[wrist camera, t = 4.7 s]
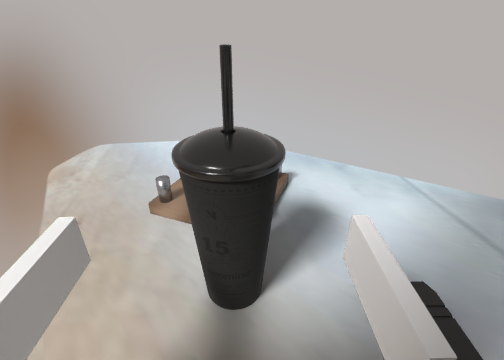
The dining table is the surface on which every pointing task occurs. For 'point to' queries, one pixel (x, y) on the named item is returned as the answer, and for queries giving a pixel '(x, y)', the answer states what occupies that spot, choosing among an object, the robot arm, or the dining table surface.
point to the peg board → (174, 199)
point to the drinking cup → (230, 199)
